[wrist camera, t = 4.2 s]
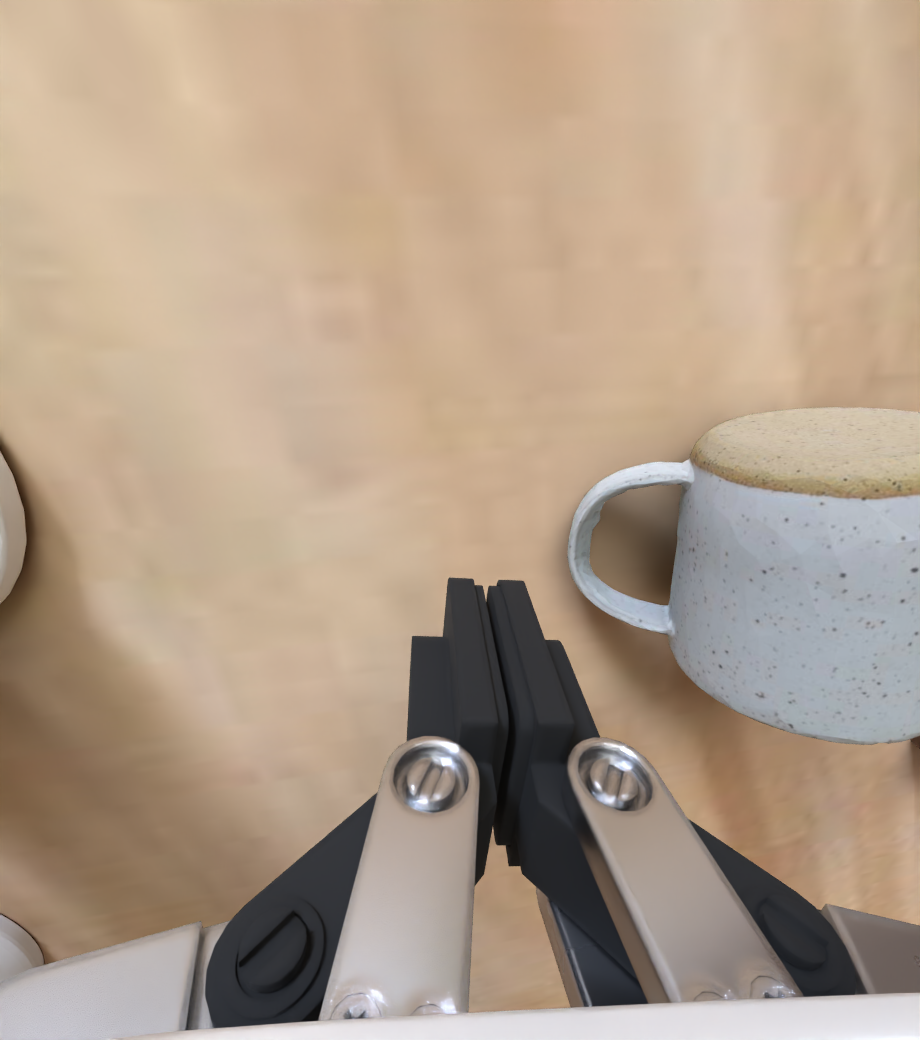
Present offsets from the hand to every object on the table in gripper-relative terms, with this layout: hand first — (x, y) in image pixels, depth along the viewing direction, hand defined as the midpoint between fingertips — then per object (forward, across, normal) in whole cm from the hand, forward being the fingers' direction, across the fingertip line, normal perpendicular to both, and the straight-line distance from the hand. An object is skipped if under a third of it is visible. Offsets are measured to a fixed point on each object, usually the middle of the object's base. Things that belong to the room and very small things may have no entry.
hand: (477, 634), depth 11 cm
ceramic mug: (+8, -9, 0) cm, 12 cm away
